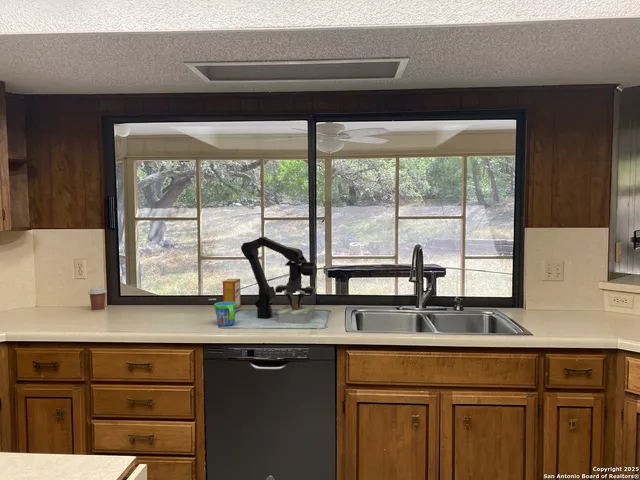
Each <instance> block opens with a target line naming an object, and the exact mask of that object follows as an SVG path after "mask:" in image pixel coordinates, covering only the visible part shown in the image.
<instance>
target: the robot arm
mask: <svg viewBox="0 0 640 480" xmlns="http://www.w3.org/2000/svg"><path fill="white" fill-rule="evenodd" d="M262 247H265V248H267V249H270V250H271V251H274V252H276V253H278V254H281V255H282V256H283V257H284V258H285V259H287V260H288V261H287V262H286V263H285V264H284V265H285V266H286V267H289V268H288V270H289V274H288V275H289V276H288V282H287V283H286V285H284V284H282V285H281V284H280V285H276V286H275V287H274V286H270V284H269V283H268V280H267V278H266V275H265V272H264V269H263V267H262V263H261V262H260V259H259V252H260V251H259V249H260V248H262ZM240 251H241V252H242V254H243V255H244V257H245V258H246V260H247V261H248V262H249V264H250V267H251V269H252V273H253V275H254V279H255V281H256V284H257V287H258V300H256V301H255V303H254V306H255V308H256V309H257V311H256V312H257V313H256V314H257V316H256V319H262V320H263V319H264V320H269V319H271V318H273V308H272V306H273V303H274V302H275V300H276V298H277V294H278V293H280V294H281V293H283V292H284V293H283V295H285V296H286V297H287V299H288V301H289V305H291V307H292V299H293V298H294V294H296V293H297V292H299V293H298V294H297V296H298V297H297V298H298V308H299V307H300V306H302V305H301V304H302V302H303V299H304V297H305V296H306V295H313V294H315V293H316V287H315V286H306V287H303V285H302V279H303V276H306V277H316V276H317V274H318V267H317V265H316V261H308V260H307V259H306V258H305V256H304V254H303V250H302V249H300V248H297V247H292V246H291V247H290V246H286V245H285V244H282V243H280V242H277V241H275V240H272V239H270V238H268V237H267V236H260V237H258V238H256V239H253V240H252V241H247V242H244V243H242V245H241V247H240Z"/></svg>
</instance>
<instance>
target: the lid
mask: <svg viewBox="0 0 640 480" xmlns="http://www.w3.org/2000/svg"><path fill="white" fill-rule="evenodd" d="M298 298H299V297H293V299H292V307H291V304H287V305H285V306H284V307H281V308H280V309H279V310H277V311H276V314H279V313H284V314H302V315H306V314H307V313H309V312H310V311H311V310H312V311H313V310H314V309H315V306H309V305H304V306H303V305H300V307H299V308H298Z"/></svg>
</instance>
